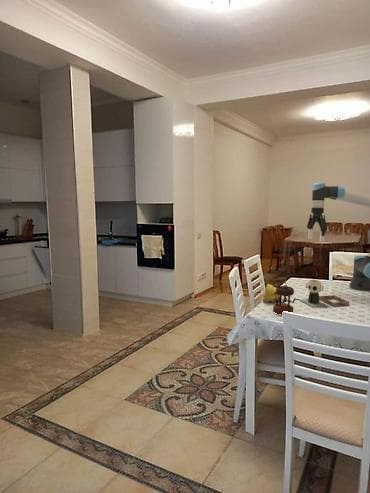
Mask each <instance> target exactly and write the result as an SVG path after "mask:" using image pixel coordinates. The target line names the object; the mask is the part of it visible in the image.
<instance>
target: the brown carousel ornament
mask: <svg viewBox="0 0 370 493" xmlns="http://www.w3.org/2000/svg"><path fill="white" fill-rule="evenodd" d="M276 289H277V287H276V286H275V287H274V285H272V284H270V283H267V285H266V288H265V291H264V293H263V294H264V295H263V298H262V301H264V302H268V303H269V302H273V300H274V299H275V297H277V300H278V297H279V298H280V295H276V294H274V292H276ZM279 301H280V300H279ZM273 303H274V302H273Z"/></svg>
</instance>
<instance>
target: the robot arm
mask: <svg viewBox="0 0 370 493" xmlns="http://www.w3.org/2000/svg"><path fill="white" fill-rule="evenodd" d="M311 195H312V196H311V199H312V200H311V211H310V212H311V214H309V218H308V221H307V225H306V229H308V236H307V237H308V238H307V239H308V240H313V239H314V238H313V237H314V236H313V234H314V226H315V225H316V223H317V224H318V225H319V228H320V231H319V242H325V237H326V236H325V235H326V231H328V226H327V221H326V215H325V214H324V213H325V212H324V211H325V208H324V207H325V199H330V200H334V201H339V202H343V203H348V204H352V205H357V206H361V207H366V208H369V209H370V195H368V194H363V193H359V192H354V191H349V190H346V187H345V186H342V185H335V186H333V185H332V186H330V185H329V186H328V185H326V183H324V182H314V183H313V184H312V193H311ZM349 288H350V289H352V290H355V289H356V290H355V291H361V290H370V253H367V254H366V255H355V256H354V259H353V271H352V278H351V280H350V282H349Z"/></svg>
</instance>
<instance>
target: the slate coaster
mask: <svg viewBox="0 0 370 493" xmlns="http://www.w3.org/2000/svg"><path fill="white" fill-rule="evenodd" d="M299 301H300V302H301V303H303V304H305V305H307V306H309V307H310V308H325V307H326V308H327V307H329V305H328V304H326V303H324V302H322V301H320V300H319V302H318V303H312V302H308V298H306V299H304V298H303V299H300V300H299Z"/></svg>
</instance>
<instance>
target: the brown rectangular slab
mask: <svg viewBox="0 0 370 493" xmlns="http://www.w3.org/2000/svg"><path fill="white" fill-rule="evenodd" d="M331 300H334V301H335V302H334V301H331ZM319 301H320V302H322V303H324V304H326V305H328V306H331V307H347V306H350V301H348V300H346V299H344V298H341V297H339V296H336V295H335V294H334V295H332V294H331V295H330V294H329V295H319Z"/></svg>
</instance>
